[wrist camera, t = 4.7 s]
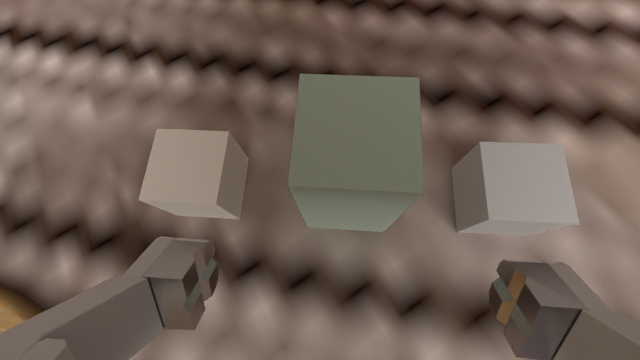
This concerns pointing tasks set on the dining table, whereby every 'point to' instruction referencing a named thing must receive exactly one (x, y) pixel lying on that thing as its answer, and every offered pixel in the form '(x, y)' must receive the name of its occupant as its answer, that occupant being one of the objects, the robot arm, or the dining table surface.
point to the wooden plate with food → (15, 308)
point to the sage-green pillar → (356, 150)
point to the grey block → (513, 189)
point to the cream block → (195, 174)
